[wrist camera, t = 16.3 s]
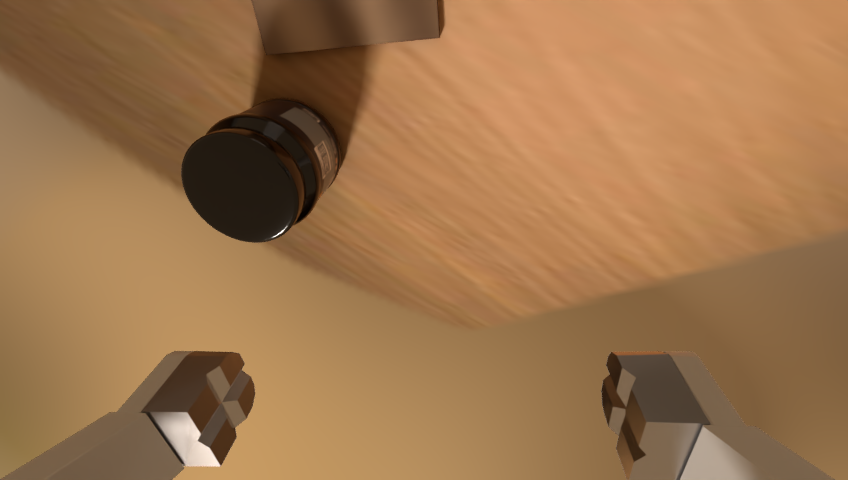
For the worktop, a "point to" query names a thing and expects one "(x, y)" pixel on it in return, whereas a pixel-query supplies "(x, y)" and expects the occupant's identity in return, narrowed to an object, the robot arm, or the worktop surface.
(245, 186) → the supplement container
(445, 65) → the worktop surface
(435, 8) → the walnut board
